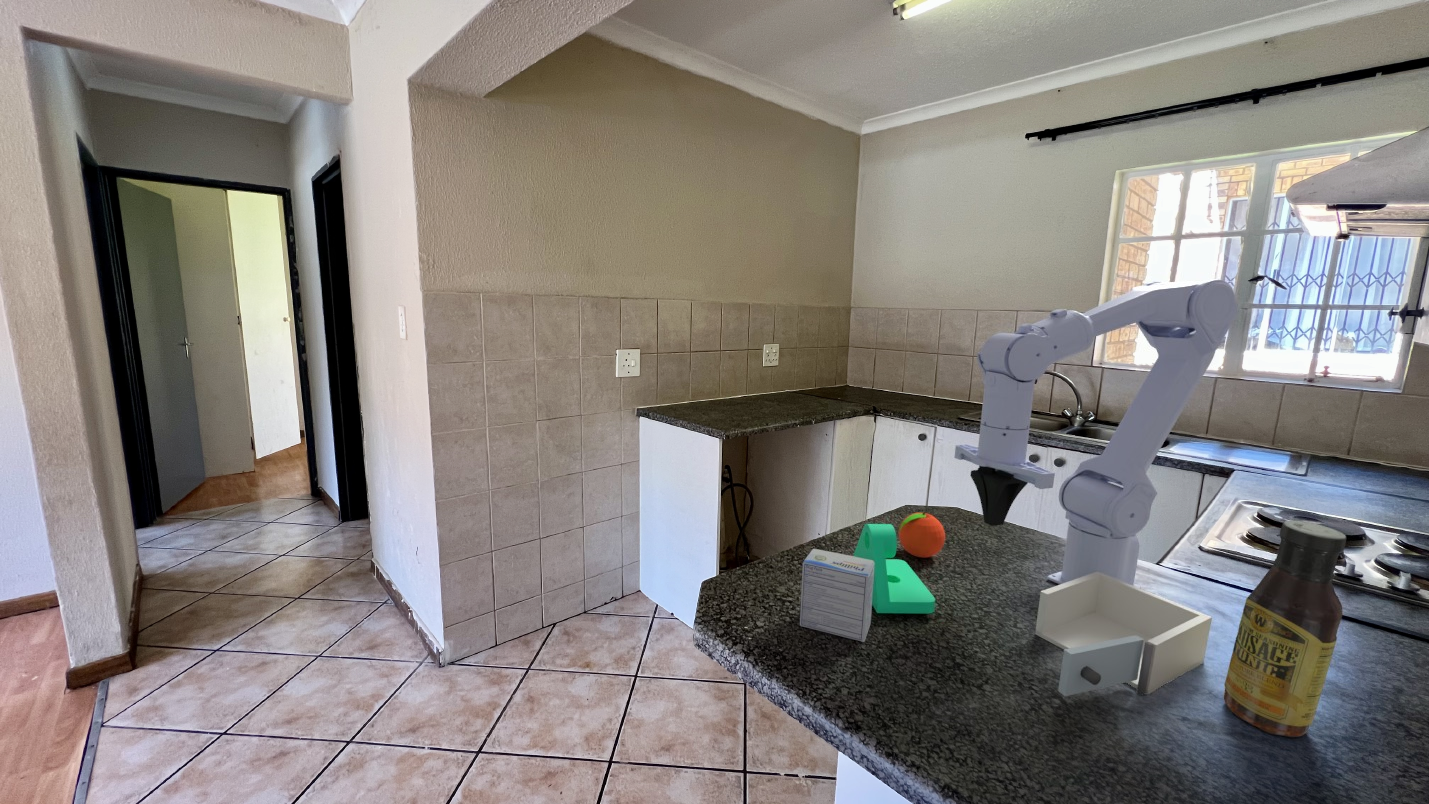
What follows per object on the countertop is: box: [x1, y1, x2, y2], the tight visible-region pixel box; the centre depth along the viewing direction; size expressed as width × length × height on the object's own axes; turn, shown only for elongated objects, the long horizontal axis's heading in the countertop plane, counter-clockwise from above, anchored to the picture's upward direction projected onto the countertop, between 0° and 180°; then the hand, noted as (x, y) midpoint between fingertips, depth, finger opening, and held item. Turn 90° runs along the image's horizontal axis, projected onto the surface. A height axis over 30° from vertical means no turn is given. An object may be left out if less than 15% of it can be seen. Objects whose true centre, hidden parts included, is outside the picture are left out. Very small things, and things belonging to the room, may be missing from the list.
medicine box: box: [799, 548, 875, 643], centre depth 68 cm, size 8×4×9 cm, turn 65°
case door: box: [1057, 635, 1144, 697], centre depth 56 cm, size 2×10×5 cm, turn 107°
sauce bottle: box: [1223, 520, 1347, 738], centre depth 53 cm, size 6×6×20 cm
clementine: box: [898, 512, 946, 558], centre depth 88 cm, size 8×7×7 cm
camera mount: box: [852, 523, 936, 614], centre depth 76 cm, size 12×8×10 cm, turn 2°
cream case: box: [1034, 571, 1213, 696], centre depth 65 cm, size 13×12×6 cm
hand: (993, 523), depth 76 cm, fingers closed
